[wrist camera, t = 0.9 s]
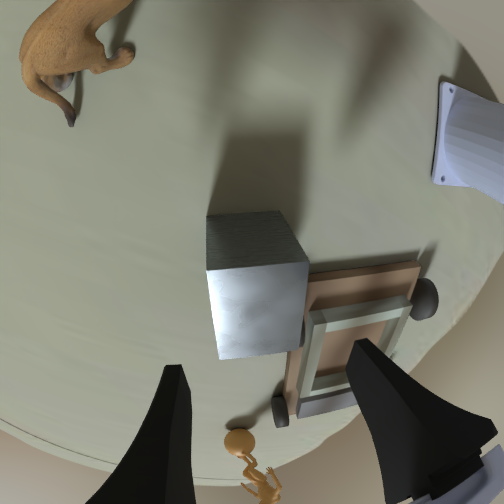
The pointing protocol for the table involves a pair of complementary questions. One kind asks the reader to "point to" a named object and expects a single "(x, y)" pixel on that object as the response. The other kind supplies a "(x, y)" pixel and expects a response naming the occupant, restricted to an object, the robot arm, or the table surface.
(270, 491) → the figurine
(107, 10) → the lion figurine
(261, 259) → the brushed grey box
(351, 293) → the toy car chassis
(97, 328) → the table surface
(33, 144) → the table surface
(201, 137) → the table surface
